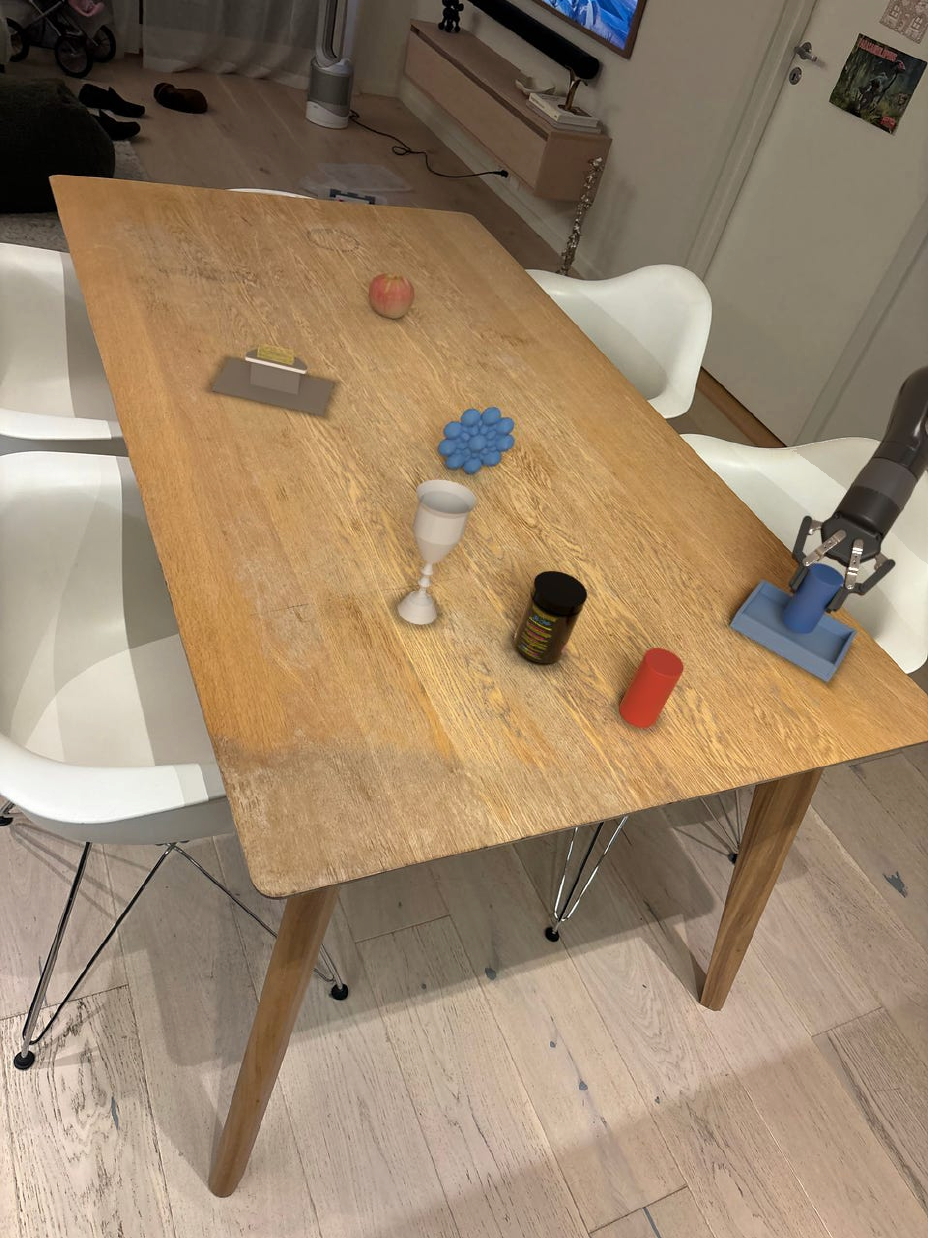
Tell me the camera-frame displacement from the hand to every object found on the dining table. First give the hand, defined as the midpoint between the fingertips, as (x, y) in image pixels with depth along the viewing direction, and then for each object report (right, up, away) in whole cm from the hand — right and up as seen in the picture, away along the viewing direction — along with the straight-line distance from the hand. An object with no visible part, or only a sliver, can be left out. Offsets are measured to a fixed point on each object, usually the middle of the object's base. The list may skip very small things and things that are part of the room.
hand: (810, 601), depth 126 cm
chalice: (-54, -2, -8) cm, 55 cm away
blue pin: (0, -3, +5) cm, 5 cm away
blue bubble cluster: (-47, +21, +20) cm, 56 cm away
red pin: (-26, -14, -13) cm, 33 cm away
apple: (-63, +58, +57) cm, 103 cm away
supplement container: (-38, -6, -9) cm, 40 cm away
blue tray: (-1, -5, +6) cm, 8 cm away
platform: (-79, +36, +26) cm, 91 cm away
